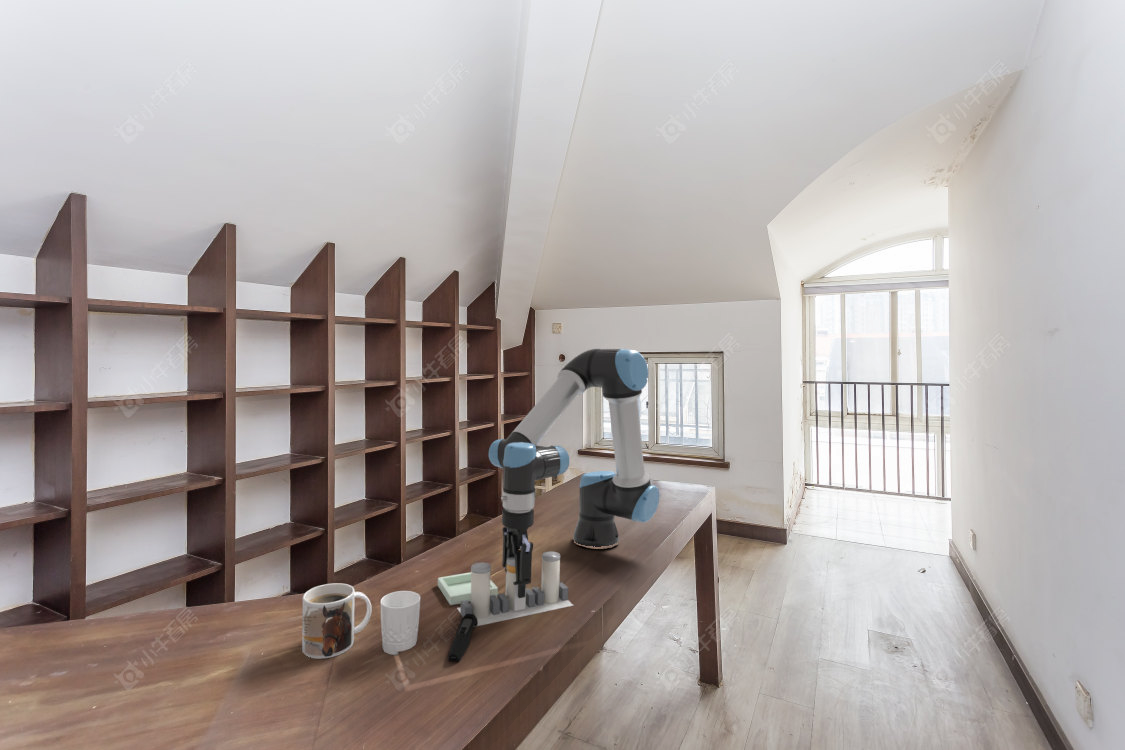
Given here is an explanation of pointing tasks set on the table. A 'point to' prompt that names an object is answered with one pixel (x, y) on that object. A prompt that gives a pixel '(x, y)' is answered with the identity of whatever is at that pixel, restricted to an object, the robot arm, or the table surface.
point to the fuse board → (532, 606)
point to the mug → (330, 620)
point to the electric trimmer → (462, 637)
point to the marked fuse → (510, 581)
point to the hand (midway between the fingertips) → (515, 604)
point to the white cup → (399, 621)
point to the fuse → (480, 589)
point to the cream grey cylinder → (550, 577)
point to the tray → (460, 588)
